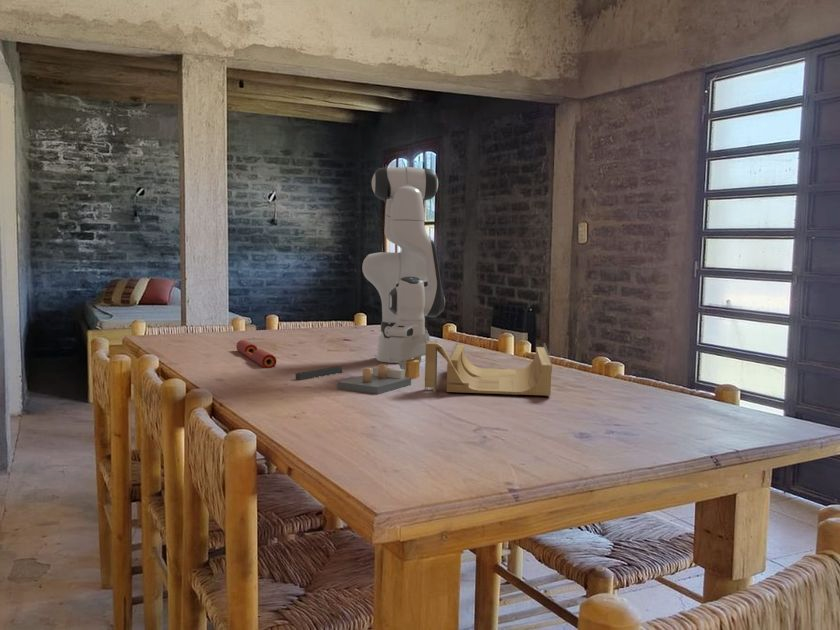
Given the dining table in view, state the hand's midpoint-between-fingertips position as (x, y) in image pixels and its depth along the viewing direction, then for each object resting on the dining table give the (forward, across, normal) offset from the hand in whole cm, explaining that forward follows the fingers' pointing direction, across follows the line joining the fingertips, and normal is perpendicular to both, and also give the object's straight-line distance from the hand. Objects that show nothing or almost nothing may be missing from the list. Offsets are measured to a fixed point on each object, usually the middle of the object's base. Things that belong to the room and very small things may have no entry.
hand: (409, 372), depth 234 cm
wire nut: (+2, 0, 0) cm, 2 cm away
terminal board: (+2, +20, 0) cm, 20 cm away
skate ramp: (+2, -6, +24) cm, 25 cm away
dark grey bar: (0, +14, -19) cm, 23 cm away
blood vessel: (+2, +1, -64) cm, 64 cm away
